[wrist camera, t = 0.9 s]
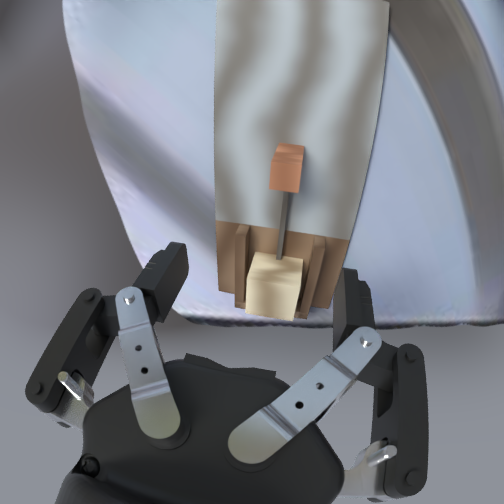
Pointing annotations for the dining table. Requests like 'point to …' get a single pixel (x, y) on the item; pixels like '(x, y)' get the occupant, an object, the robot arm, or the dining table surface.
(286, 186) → the rod-linked blocks
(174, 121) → the dining table surface
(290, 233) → the lane rack
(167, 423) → the robot arm
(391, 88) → the dining table surface
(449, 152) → the dining table surface
